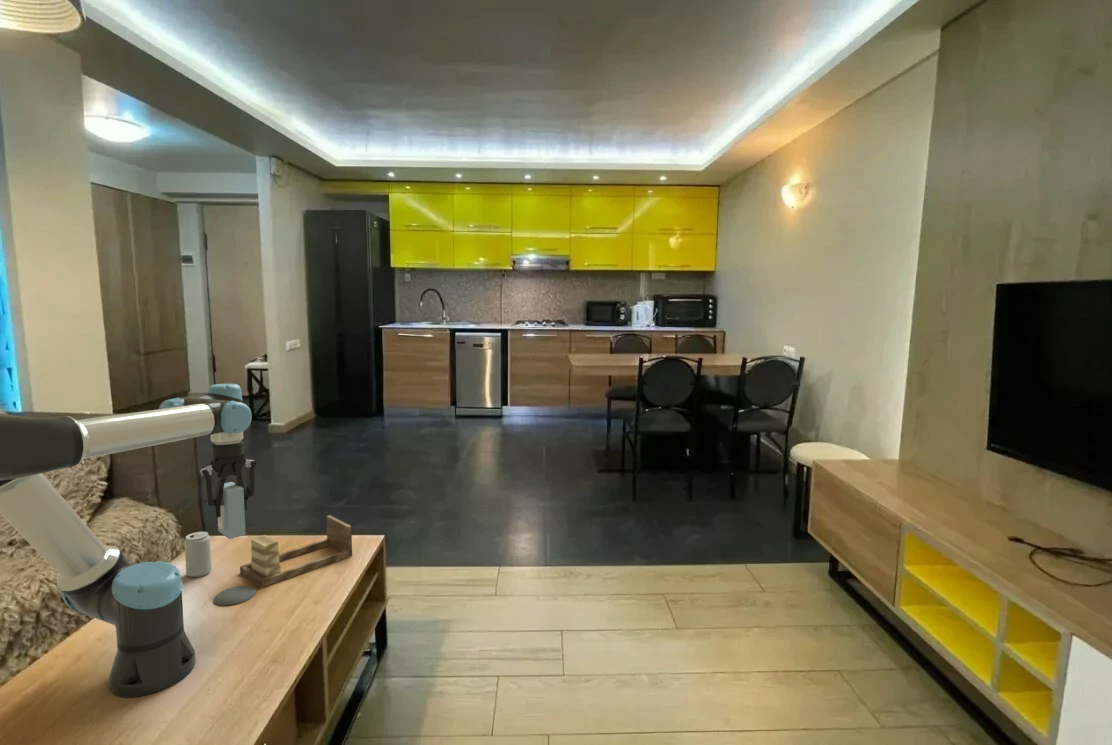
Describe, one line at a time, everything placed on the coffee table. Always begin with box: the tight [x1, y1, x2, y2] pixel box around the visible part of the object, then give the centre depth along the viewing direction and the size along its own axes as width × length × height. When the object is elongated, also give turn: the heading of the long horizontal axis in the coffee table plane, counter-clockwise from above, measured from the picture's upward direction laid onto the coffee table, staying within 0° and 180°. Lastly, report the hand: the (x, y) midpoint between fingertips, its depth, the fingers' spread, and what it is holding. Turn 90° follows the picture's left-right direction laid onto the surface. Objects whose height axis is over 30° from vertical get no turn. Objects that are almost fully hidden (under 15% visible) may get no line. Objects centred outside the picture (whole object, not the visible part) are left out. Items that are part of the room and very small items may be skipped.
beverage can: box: [183, 531, 212, 578], centre depth 164 cm, size 6×6×12 cm
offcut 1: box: [250, 534, 280, 556], centre depth 163 cm, size 4×8×3 cm, turn 54°
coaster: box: [213, 585, 256, 607], centre depth 152 cm, size 10×10×1 cm
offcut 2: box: [250, 548, 280, 570], centre depth 163 cm, size 4×9×4 cm, turn 52°
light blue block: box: [217, 481, 246, 540], centre depth 149 cm, size 4×8×13 cm, turn 50°
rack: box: [239, 514, 353, 589], centre depth 171 cm, size 28×14×10 cm, turn 140°
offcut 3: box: [250, 559, 282, 579], centre depth 164 cm, size 4×10×4 cm, turn 51°
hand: (231, 525), depth 149 cm, fingers closed on light blue block, 4 cm apart
